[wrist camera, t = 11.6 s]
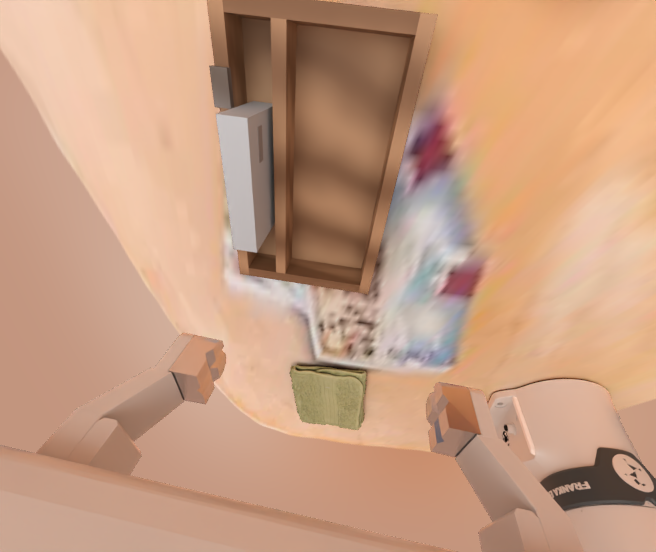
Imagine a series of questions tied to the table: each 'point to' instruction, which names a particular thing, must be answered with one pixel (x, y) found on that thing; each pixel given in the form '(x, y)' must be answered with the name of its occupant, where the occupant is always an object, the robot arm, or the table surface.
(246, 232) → the rectangular block
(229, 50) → the wooden tray
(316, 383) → the washcloth
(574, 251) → the table surface
